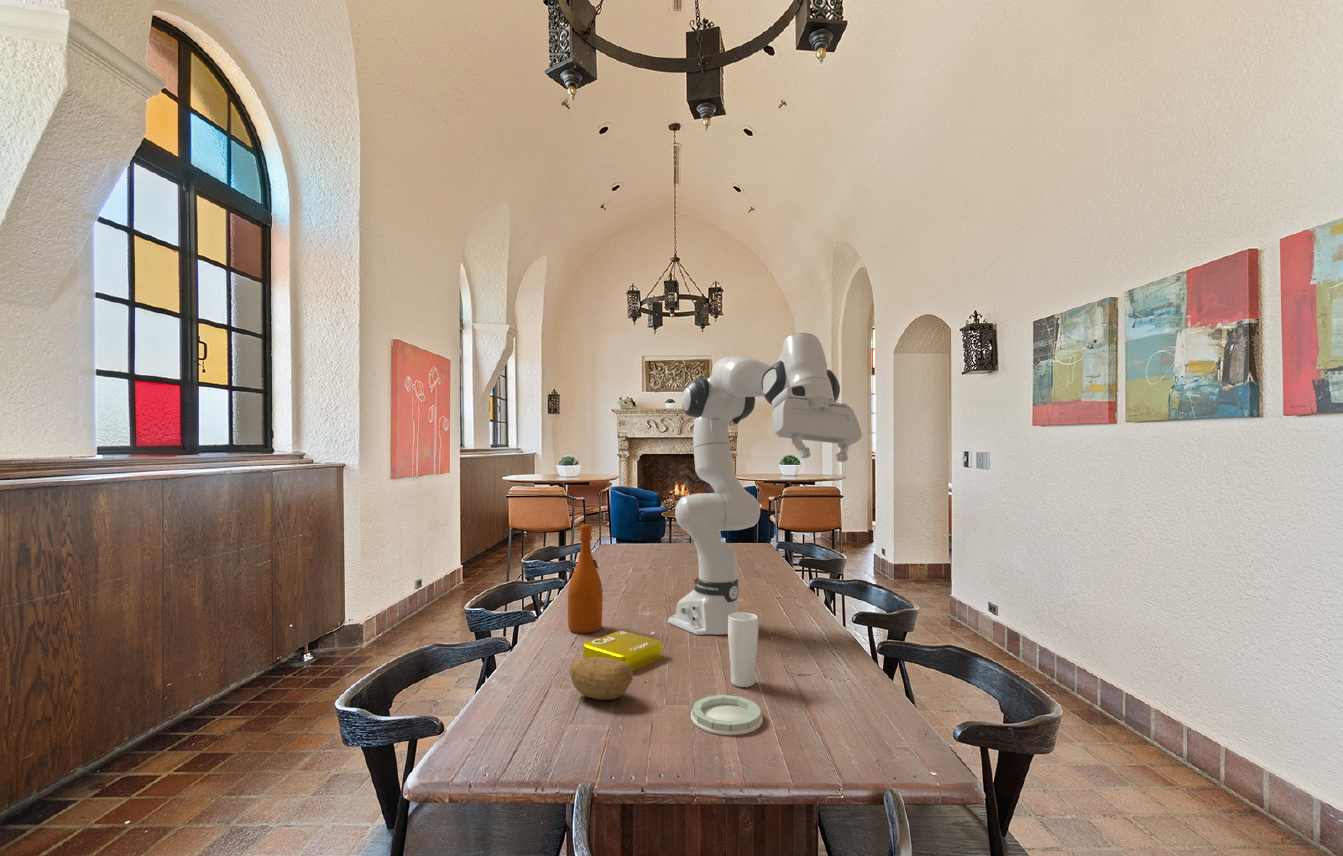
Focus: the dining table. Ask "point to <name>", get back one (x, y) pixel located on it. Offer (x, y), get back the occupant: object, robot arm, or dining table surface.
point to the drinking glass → (742, 647)
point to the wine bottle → (585, 590)
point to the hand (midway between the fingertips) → (824, 459)
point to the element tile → (625, 648)
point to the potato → (601, 677)
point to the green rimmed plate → (726, 715)
